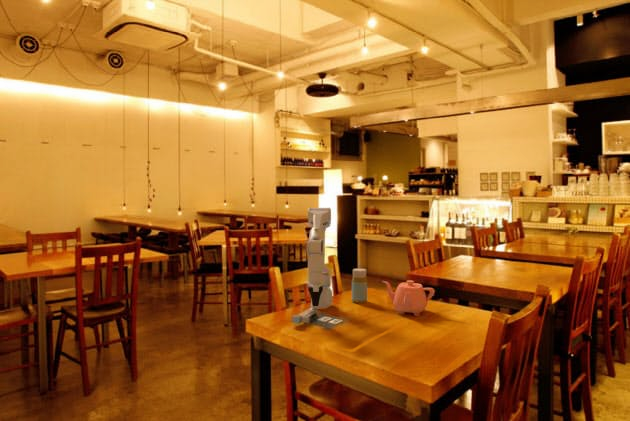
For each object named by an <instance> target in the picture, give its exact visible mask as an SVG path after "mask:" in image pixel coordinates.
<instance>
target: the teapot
mask: <svg viewBox="0 0 630 421" xmlns="http://www.w3.org/2000/svg"><path fill="white" fill-rule="evenodd" d="M381 282H382V283H383V284H384V285H385V286H386V289H387V294H388V297H389V299H390V300H391V301H392V303H393V306H394V309H395V310H396V311H398V312H397V314H398V315H405V313H413V316H415V317H420V316H421V313H422V312H424V311H425V309H426V308H427V306H428V301H430V300H431V299H432V297H433V296H434V295H435V292H436V290H435V289H434V288H433V287H424V286H423V285H422V284H421V283H417V282H415V281H414V280H411V279H409V280H406V282H401V283H399V284H398V286H397V288H396V290H395V292H394V291H393V289H392V286H391V284H390V282H389V281H384V280H381ZM426 291H428V292H429V294H428V296H427V294H426Z"/></svg>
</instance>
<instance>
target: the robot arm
mask: <svg viewBox="0 0 630 421" xmlns="http://www.w3.org/2000/svg"><path fill="white" fill-rule="evenodd" d="M307 221H308V225H309V227H311V228H310V230H309V235H308V236H309V237H308V240H307V241H306V255H307V258H306V259H307V281H304V285H307V286H308V287H307V290H308V292H309V295H310V299H311V301H310V302H311V303H310V305H311V306H310V307H316V308H317V310H325V309H327V308H328V307H331V306H333V292H332V289H331V285H332V276H331V269H330V268H329V267H328V266H326V265H325V255H326V252H325V249H326V248H325V245H326V243H325V242H326V241H325V240H326V231H327V228H330V227H331V224H332V222H331V221H332V209H331V207H308V208H307Z"/></svg>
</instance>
